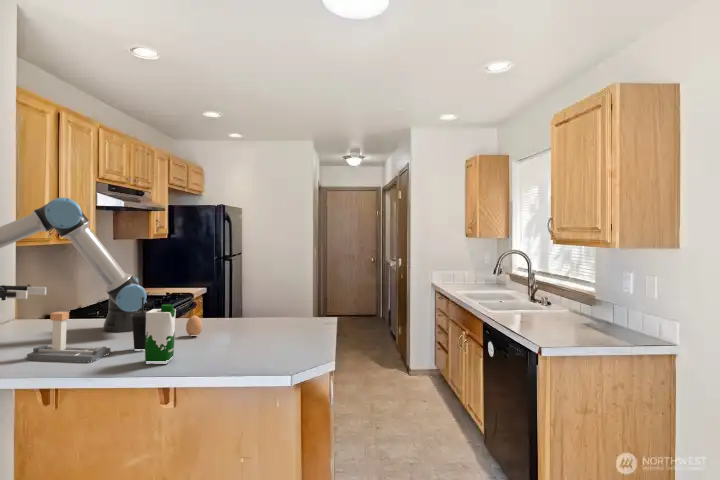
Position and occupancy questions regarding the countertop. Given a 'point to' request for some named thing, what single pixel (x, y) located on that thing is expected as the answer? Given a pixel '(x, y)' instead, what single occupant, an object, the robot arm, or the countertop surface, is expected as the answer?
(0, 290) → the robot arm
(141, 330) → the drinking cup
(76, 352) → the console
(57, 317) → the fader
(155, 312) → the milk carton
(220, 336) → the countertop surface
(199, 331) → the egg
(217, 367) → the countertop surface
